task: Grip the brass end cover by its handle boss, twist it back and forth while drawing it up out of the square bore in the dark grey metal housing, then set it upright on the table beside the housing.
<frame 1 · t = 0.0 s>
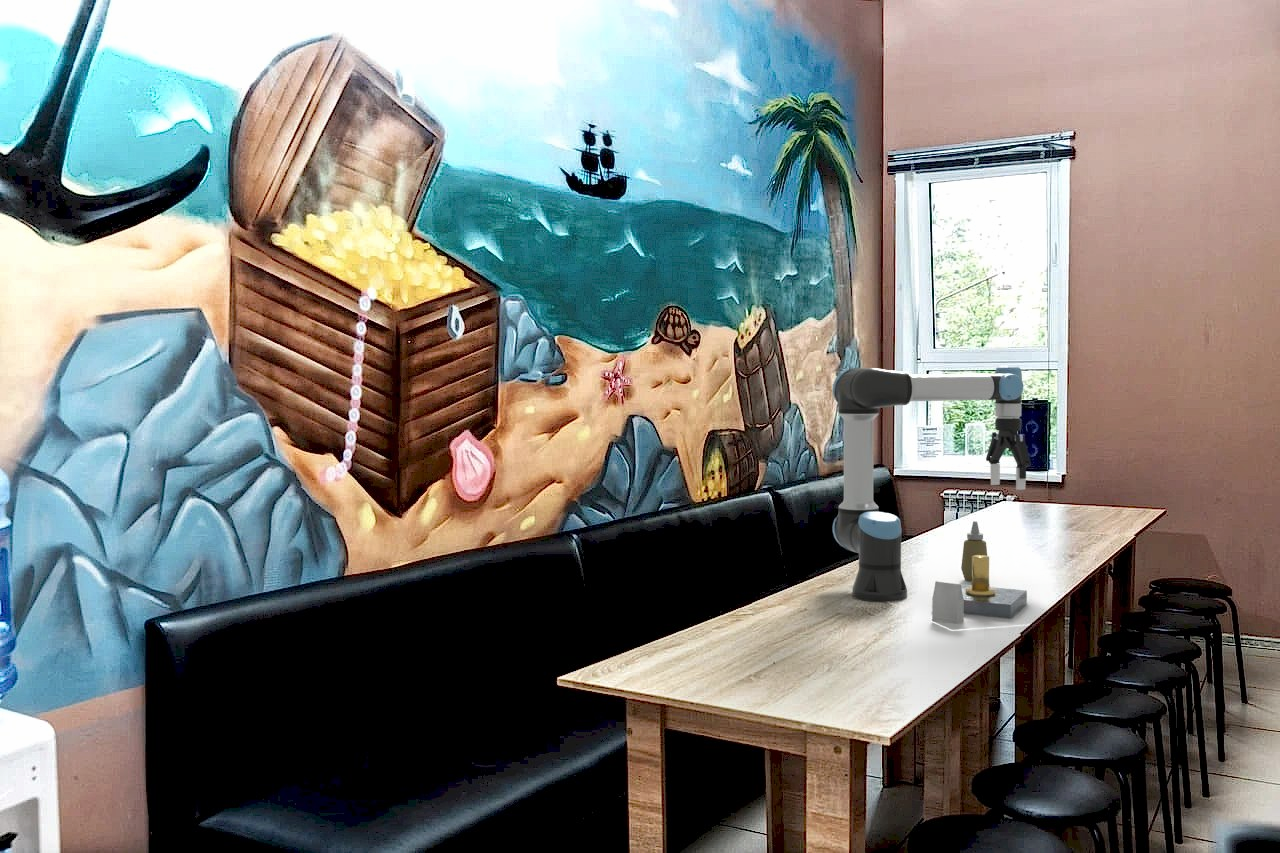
hand: (1007, 487, 331), 28 cm above the table, fingers open, 13 cm apart
housing: (980, 608, 292), on the table
tea bag: (947, 622, 277), on the table
squeeze bottle: (974, 581, 329), on the table
end cover: (980, 606, 292), resting in housing
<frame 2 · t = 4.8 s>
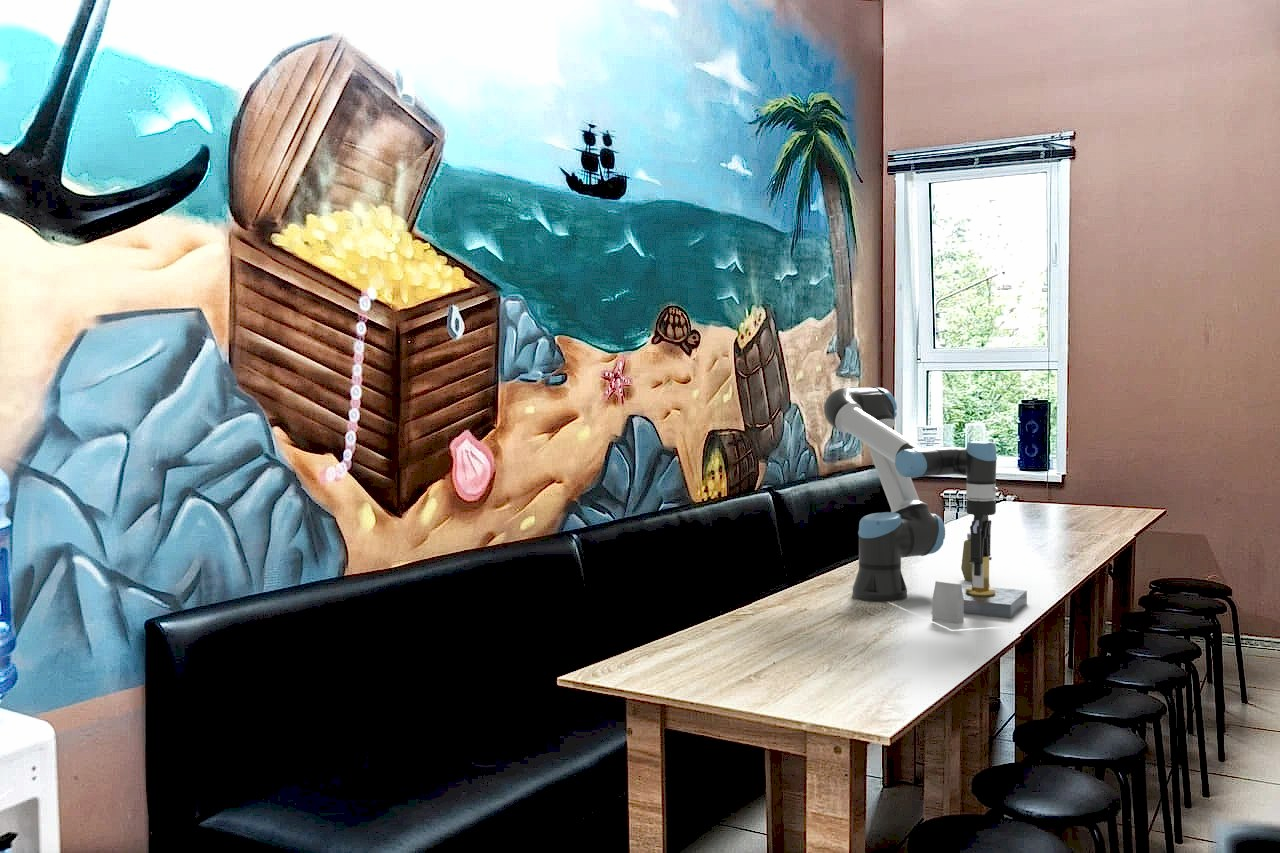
hand: (980, 585, 292), 6 cm above the table, fingers closed on end cover, 4 cm apart
end cover: (980, 606, 292), resting in housing, touching gripper
everything else where it was.
when the fingers open (7 cm above the table, at t = 13.0 s): end cover drops 2 cm, on the table.
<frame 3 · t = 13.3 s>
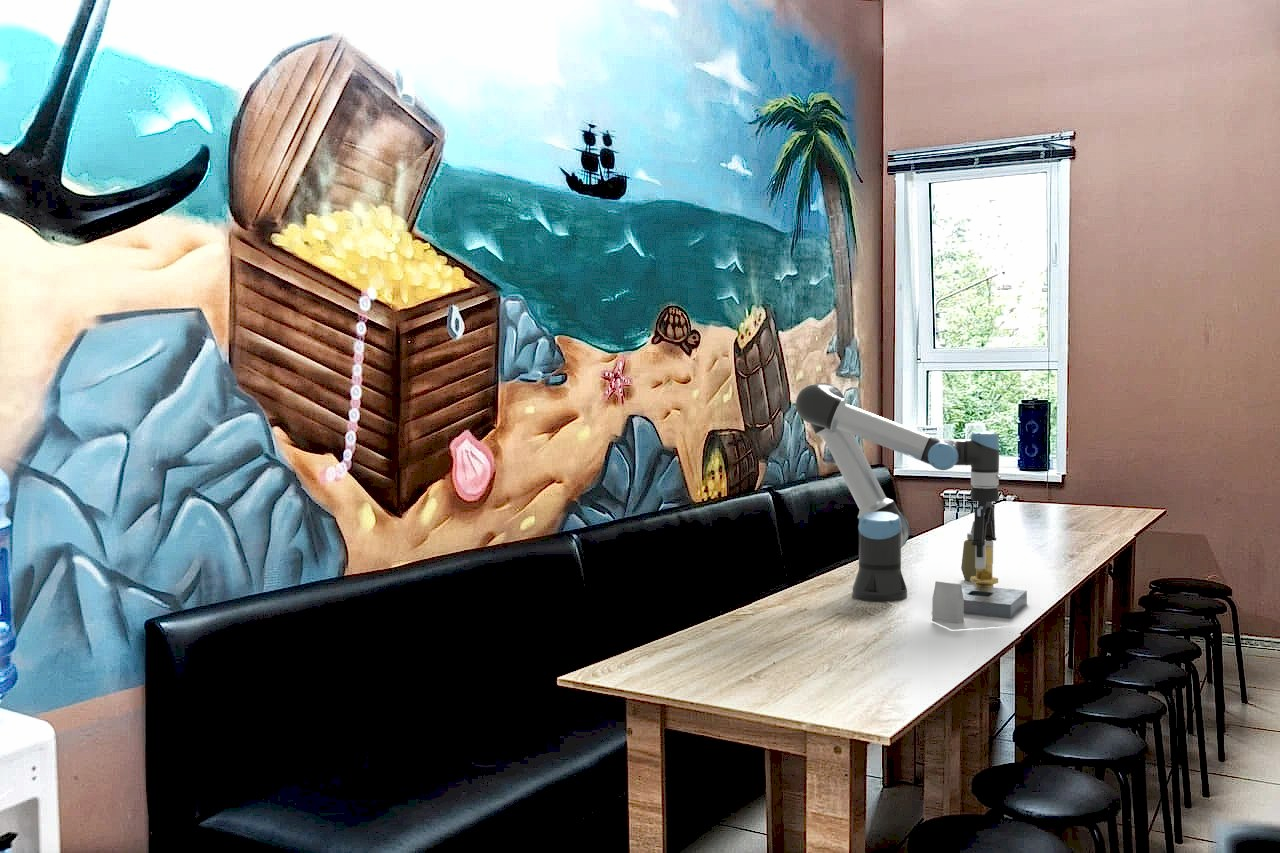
hand: (984, 565, 310), 8 cm above the table, fingers open, 8 cm apart
end cover: (984, 594, 310), on the table
everything else where it was.
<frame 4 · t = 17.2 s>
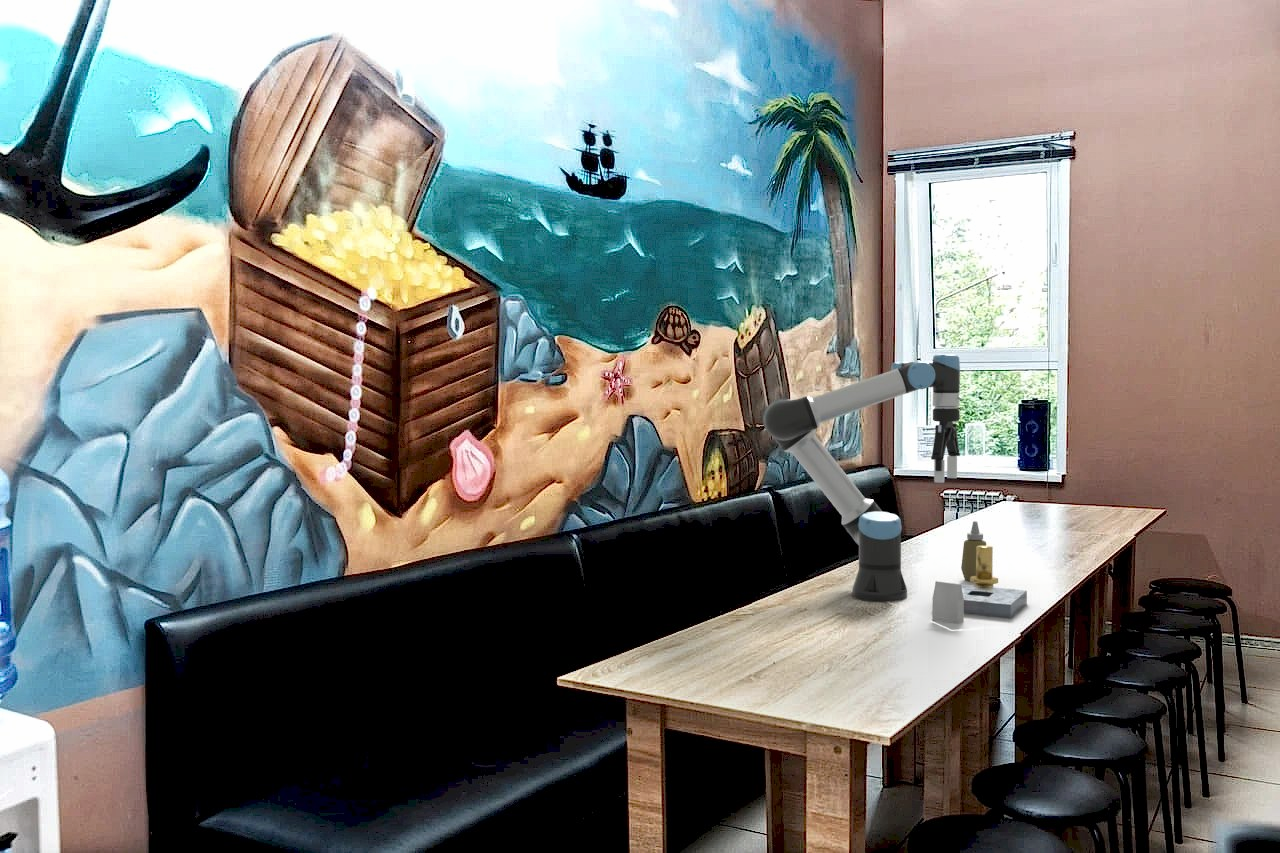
hand: (945, 480, 318), 32 cm above the table, fingers open, 13 cm apart
nothing on the table moved.
at the end: end cover inside the target area (0.0 cm from its centre), on the table; end cover tilted 0°; the gripper is holding nothing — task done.
